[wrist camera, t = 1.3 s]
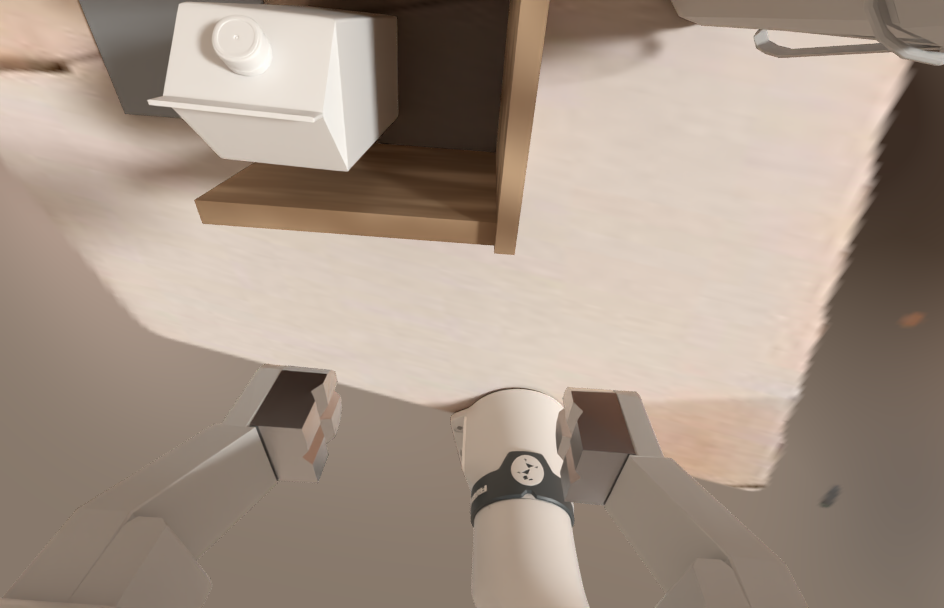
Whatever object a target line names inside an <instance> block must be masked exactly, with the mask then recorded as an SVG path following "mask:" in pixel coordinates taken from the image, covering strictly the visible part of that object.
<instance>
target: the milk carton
mask: <svg viewBox="0 0 944 608" xmlns="http://www.w3.org/2000/svg"><path fill="white" fill-rule="evenodd" d="M147 101H148V104H149V105H155V106H164V107H172V108H173V109H174V110H175V111H176V112H177V113H178V114H179V115H180V117H181V118H182V119H183V120H184V121H185V122H186V123H187V124H188V125H189V126H190V127H191V128H192V129H193V130H194V131H195V132H196V133H197V134H198V135H199V136H200V137H201V138H202V139H203V140H204V141H205V142H206V143H207V144H208V145H209V146H210V147H211V148H212V150H213V151H214V152H215V153H216V154H217V155H218V156H219V157H220V158H223V159H230V160H239V161H249V162H258V163H268V164H277V165H287V166H296V167H306V168H315V169H325V170H335V171H349V169H350V168H351V167H352V166H353V165H354V164H355V163H356V162H357V161H358V160H359V159H360V157H361V156H362V155H363V154H364V153H365V152H366V151H367V150H368V149H369V148H370V147H371V146H372V144H373V143H374V142H375V141H376V140H377V139H378V138H379V137H380V136H381V135H382V134H383V132H384V131H385V130H386V129H387V128H388V127H389V126H390V125H391V124H392V123H393V122H394V121H395V119H396V118H397V117H398V54H397V17H396V16H392V15H385V14H376V13H367V12H358V11H349V10H340V9H331V8H322V7H313V6H295V5H268V4H241V3H214V2H183V3H180V4H179V6H178V11H177V16H176V22H175V28H174V34H173V40H172V46H171V51H170V57H169V63H168V69H167V75H166V80H165V86H164V92H163V96H161V97H157V98H153V99H149V100H147Z"/></svg>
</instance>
